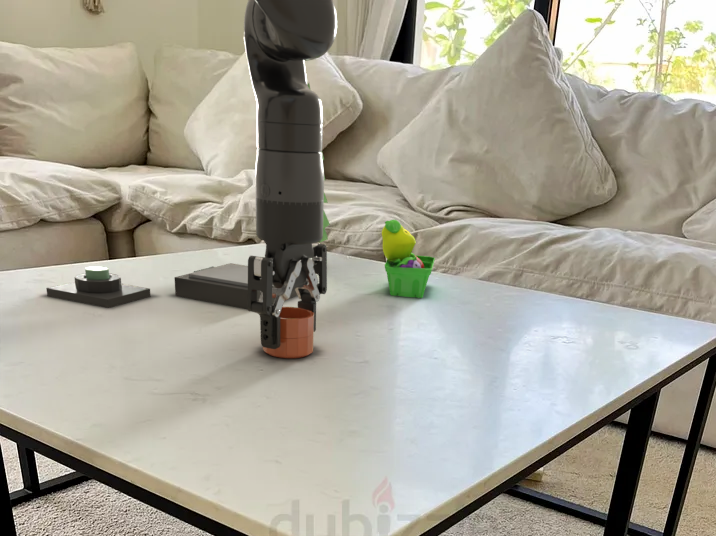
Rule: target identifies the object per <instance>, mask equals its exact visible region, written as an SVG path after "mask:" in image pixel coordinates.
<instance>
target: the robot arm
mask: <svg viewBox="0 0 716 536" xmlns="http://www.w3.org/2000/svg"><path fill="white" fill-rule="evenodd" d="M337 31H338V17H337V10H336V6H335V3H334V0H247V3H246V6H245V11H244V16H243V41H244V49H245V53H246V54H245V55H246V59H247V65H248V70H249V75H250V80H251V85H252V89H253V93H254V96H255V101H256V148H257V149H256V159H255V168H254V169H255V170H254V185H255V187H254V189H255V234H256V235H255V236H256V237H257V239H259V240H260V241H263V242H264V244H265V252H264V256H257V255H249V256H248V259H247V266H248V309H247V310H248V312H252V313H256V314H258V315H259V318H260V319H259V322H260V323H259V324H260V325H259V326H260V329H259V330H260V344H261V345H260V346H261V347H262V348H263V347H265V348H270V349H277V348H279V347H280V316H279V315H280V312H281V309H282V307H284V303H285V302H286V301H287V300H290V299H289V297H290V294H291V292H292V291H293V290H295V291H296V293H297V295H298V296H297V298H298V299H299V300H298V301H297V308H303V309H307V310H310V311H312V312H313V313H314V333H315V332H316V330H317V303H318V302H320V299H321V295H325V294H327V291H328V247H327V244H325V243H320V242H319V241H321V240H322V238H323V209H324V205H325V203H324V193H325V180H324V176H325V169H324V160H323V159H322V153H323V140H322V139H323V137H324V136H323V132H324V131H323V130H324V129H323V127H324V126H323V124H324V111H323V103H322V99H321V98H320V96H319V95H318V94H317V93H316V92H315V91H313V90H312V89H311V88H310V89H311V90H310V89H309V87H308V78H307V73H306V72H307V71H306V63H305V61H307V62H308V61H314V60H316V59H318V58H321V57H322V56H324V55H326V53H328V51H330V49H331V48H332V46H333V44H334V43H335V41H336V40H335V39H336V36H337V33H338V32H337ZM317 275H318V277H317ZM260 278H261V279H260ZM272 285H273V286H274V287H275V288H274V287H272ZM257 290H258V291H260V292H261V296H260V299H259V302H258V301H257ZM272 298H275V301H274V304H273V305H272Z"/></svg>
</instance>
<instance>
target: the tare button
mask: <svg viewBox="0 0 716 536" xmlns="http://www.w3.org/2000/svg"><path fill="white" fill-rule="evenodd" d="M84 272H85V273H86V279H91V280H105V279H110V276H109V273H110V268H109V267H106V266H101V265H100V266H97V265H96V266H95V265H94V266H87V267H85V268H84Z"/></svg>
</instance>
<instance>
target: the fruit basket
mask: <svg viewBox="0 0 716 536" xmlns="http://www.w3.org/2000/svg"><path fill="white" fill-rule="evenodd" d="M381 238H382V252H383V255H384V257H385V258H386V261H385V263H384V270H385V272H386V277H387V284H388V289H389V294H390V296H394V297H405V298H418V299H423V297H424V295H425V292H426V291H425V290H426V288H427V284H428V281H429V278H430V276H431V274H432V271H433V268H434V264H435V259H436V258H435V257H433V256H428V255H415V253H413V250H414V248H415V245H416V244H417V242H416V238H415V236H414V235H412V234H411V232H410V231H409V230H407V229H405V227H404V226H403V225H402V224H401V223H400V221H398V220H397V219H391V220H386V221H384V226H383V228H382V230H381Z"/></svg>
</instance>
